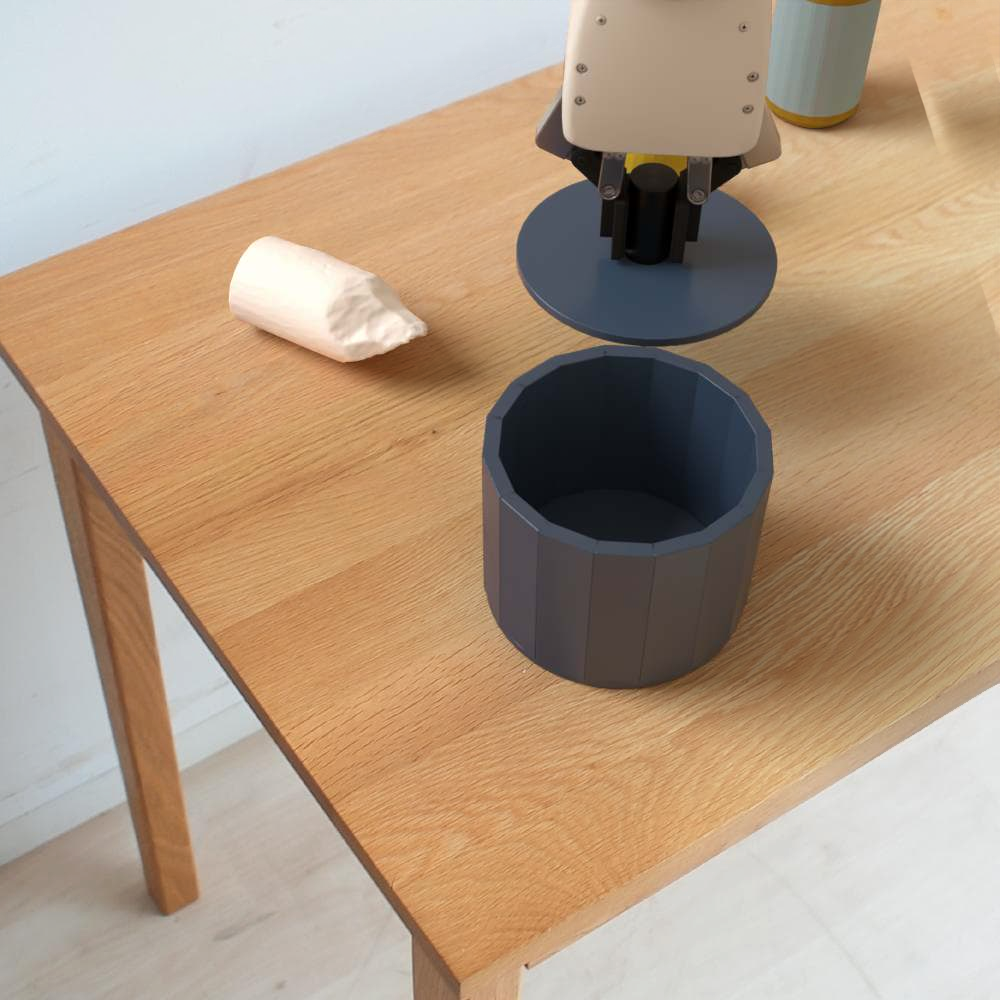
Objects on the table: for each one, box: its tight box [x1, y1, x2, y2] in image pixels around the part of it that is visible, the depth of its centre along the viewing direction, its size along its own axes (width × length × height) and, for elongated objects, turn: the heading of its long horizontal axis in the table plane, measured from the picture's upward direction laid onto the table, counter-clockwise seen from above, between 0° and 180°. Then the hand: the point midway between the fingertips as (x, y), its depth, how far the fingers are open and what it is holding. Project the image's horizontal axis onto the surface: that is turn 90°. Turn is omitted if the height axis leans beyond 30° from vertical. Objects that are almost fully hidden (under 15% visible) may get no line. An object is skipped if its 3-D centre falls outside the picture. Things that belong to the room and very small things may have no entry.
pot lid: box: [515, 162, 778, 348], centre depth 79 cm, size 15×15×6 cm
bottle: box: [765, 0, 883, 129], centre depth 99 cm, size 7×7×15 cm
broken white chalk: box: [228, 235, 429, 363], centre depth 86 cm, size 6×12×6 cm, turn 59°
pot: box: [481, 344, 775, 690], centre depth 72 cm, size 14×14×10 cm
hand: (647, 243), depth 80 cm, fingers closed on pot lid, 2 cm apart
